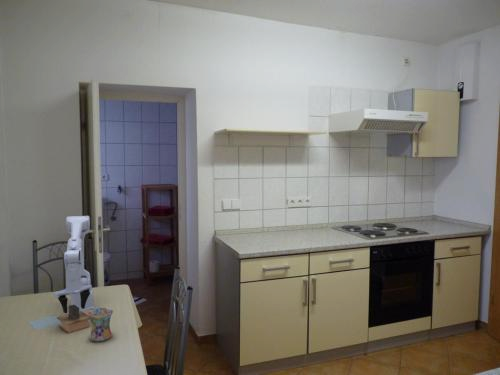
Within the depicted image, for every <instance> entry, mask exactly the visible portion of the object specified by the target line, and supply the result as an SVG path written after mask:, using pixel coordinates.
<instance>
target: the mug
mask: <svg viewBox="0 0 500 375" xmlns="http://www.w3.org/2000/svg"><path fill="white" fill-rule="evenodd" d="M113 313H114V311H113V309H112V308H110V307H98V308H94V309H90V310H89V311H88V312H87V315H88V316H89V318H90V319H89V320H90V324H91V326H90V327H91V330H90V334H89V338H88V339H89V340H91V341H93V342H103V341H106V340H108V339H110V338H112V336H113V333H112V331H111V327H110V324H111V322H110V321H111V319H112V318H111V317H112V315H113Z"/></svg>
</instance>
